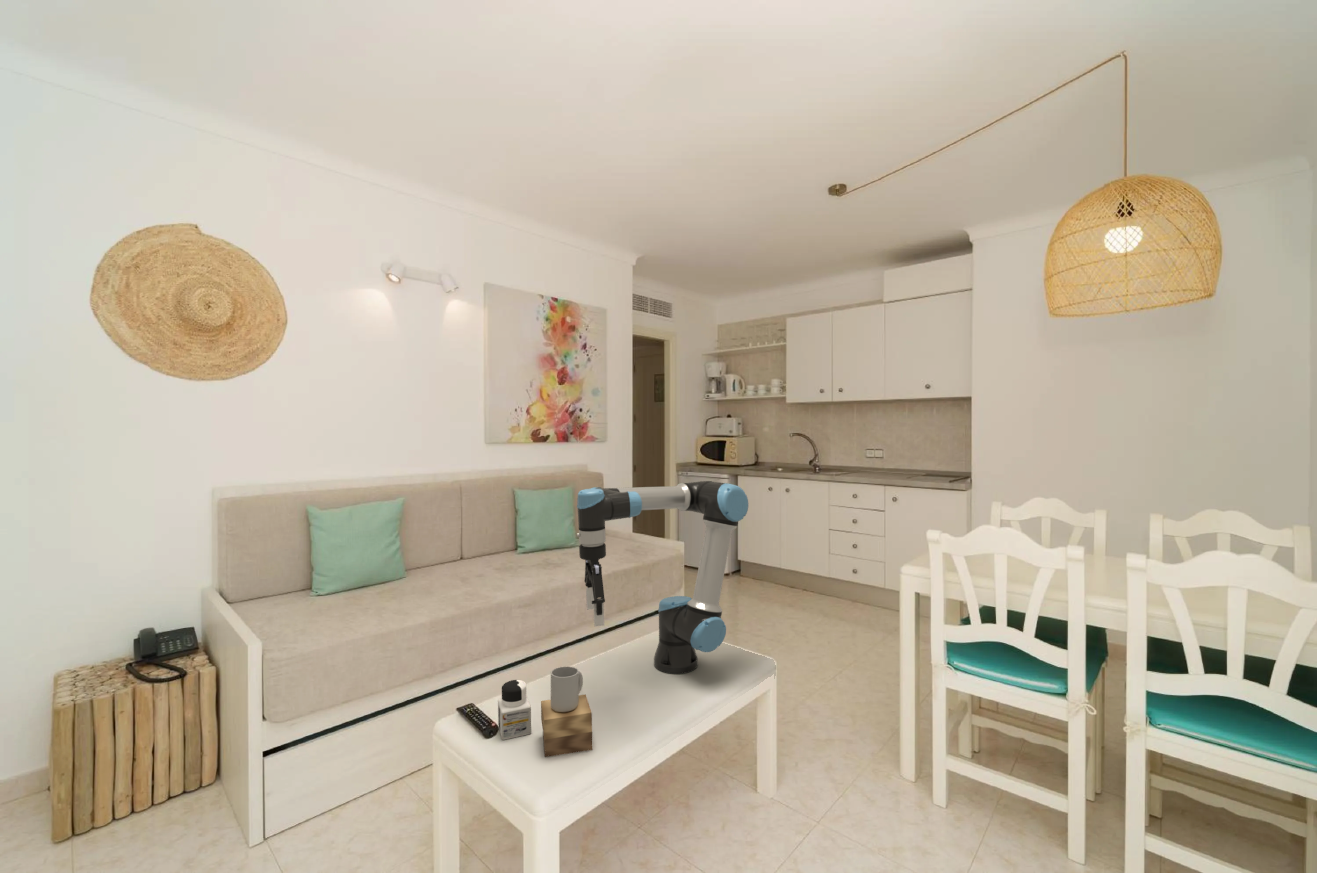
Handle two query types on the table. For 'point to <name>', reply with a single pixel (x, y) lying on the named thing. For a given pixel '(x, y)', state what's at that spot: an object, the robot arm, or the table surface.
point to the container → (514, 710)
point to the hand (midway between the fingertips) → (595, 616)
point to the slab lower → (568, 744)
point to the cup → (565, 688)
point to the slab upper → (566, 719)
